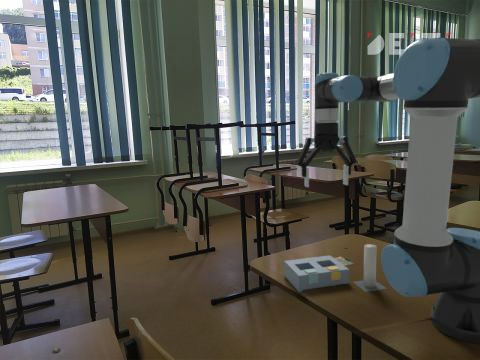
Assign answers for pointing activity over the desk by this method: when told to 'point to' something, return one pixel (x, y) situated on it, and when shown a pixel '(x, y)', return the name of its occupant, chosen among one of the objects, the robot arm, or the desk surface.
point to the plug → (369, 265)
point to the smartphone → (343, 261)
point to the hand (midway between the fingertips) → (326, 185)
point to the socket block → (315, 272)
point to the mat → (367, 289)
